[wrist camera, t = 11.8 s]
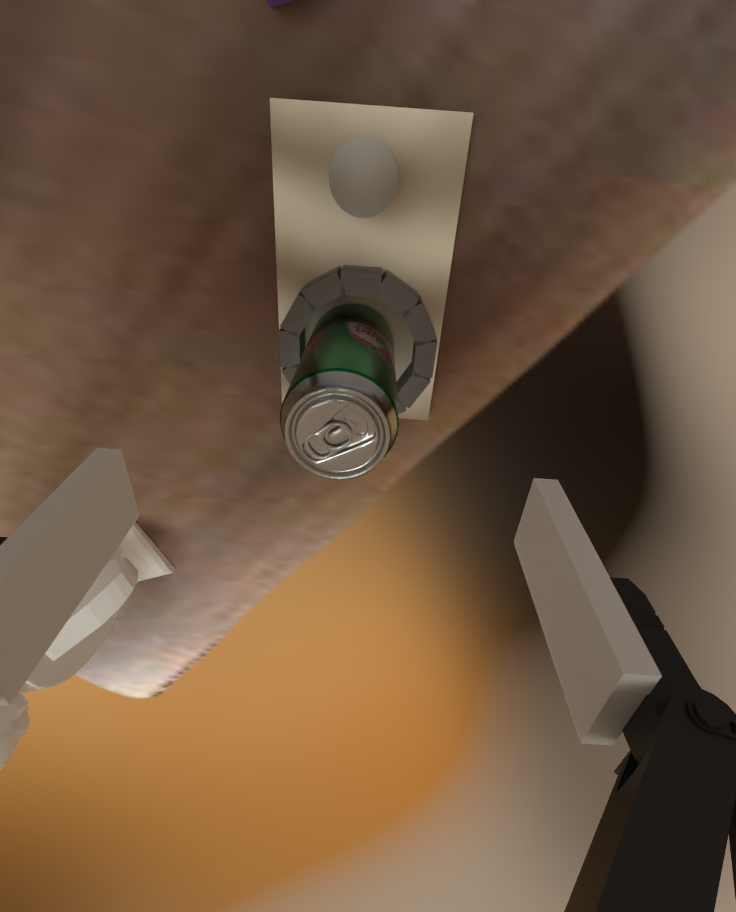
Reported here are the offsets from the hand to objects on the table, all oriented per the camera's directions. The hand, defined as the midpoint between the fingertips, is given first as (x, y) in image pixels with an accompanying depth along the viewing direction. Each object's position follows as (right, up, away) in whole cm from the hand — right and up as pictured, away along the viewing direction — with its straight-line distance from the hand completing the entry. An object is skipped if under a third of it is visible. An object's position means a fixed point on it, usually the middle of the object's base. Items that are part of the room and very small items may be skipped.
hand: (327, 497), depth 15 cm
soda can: (0, +9, +14) cm, 16 cm away
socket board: (+1, +12, +13) cm, 18 cm away
